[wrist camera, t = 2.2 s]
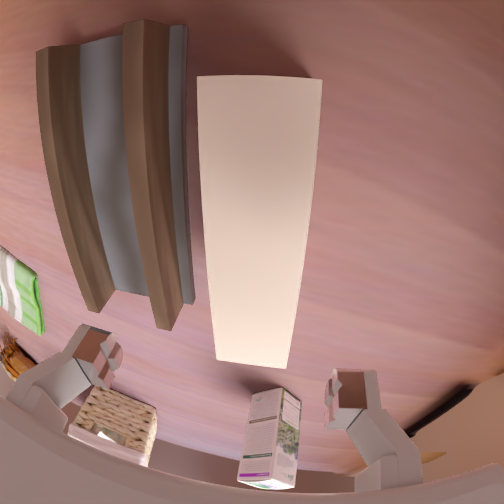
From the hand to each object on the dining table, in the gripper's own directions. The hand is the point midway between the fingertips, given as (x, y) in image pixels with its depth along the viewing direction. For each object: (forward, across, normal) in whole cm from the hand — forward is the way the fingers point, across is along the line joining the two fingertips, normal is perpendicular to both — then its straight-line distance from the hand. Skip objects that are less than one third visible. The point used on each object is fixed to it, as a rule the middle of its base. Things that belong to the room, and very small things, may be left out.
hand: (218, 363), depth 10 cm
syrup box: (+16, -5, +32) cm, 36 cm away
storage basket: (+17, +27, +55) cm, 64 cm away
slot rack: (+16, +12, 0) cm, 20 cm away
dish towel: (+18, +45, +18) cm, 52 cm away
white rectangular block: (+16, -1, 0) cm, 16 cm away
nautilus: (+18, +56, +46) cm, 75 cm away
